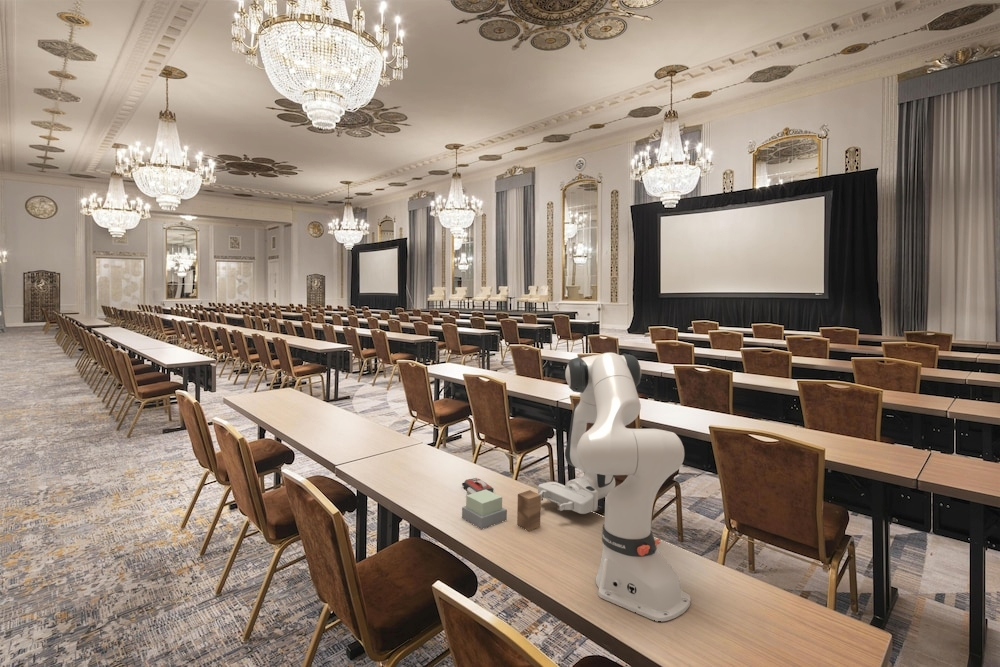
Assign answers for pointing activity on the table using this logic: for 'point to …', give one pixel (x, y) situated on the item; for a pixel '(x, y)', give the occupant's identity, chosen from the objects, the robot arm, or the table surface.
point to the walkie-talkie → (476, 486)
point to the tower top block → (484, 502)
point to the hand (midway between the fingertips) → (547, 502)
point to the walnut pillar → (529, 510)
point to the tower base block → (484, 517)
